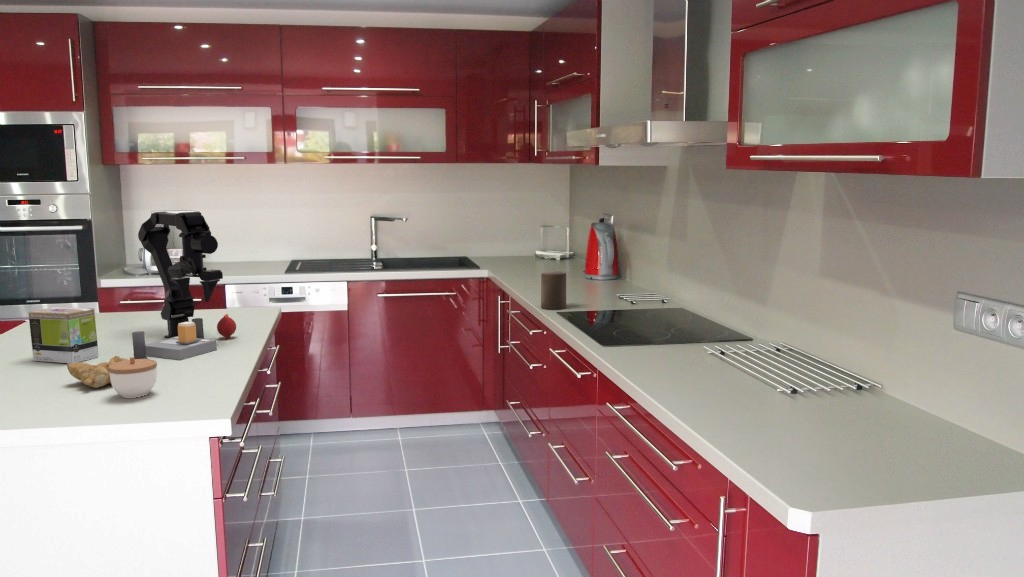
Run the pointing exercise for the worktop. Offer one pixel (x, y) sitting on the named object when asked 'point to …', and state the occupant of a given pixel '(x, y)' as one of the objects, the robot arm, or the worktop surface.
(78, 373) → the ginger root
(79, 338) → the tea box
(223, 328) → the onion
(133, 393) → the lidded jar
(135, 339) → the cable post
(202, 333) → the cable post
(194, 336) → the block
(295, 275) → the worktop surface
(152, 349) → the panel
